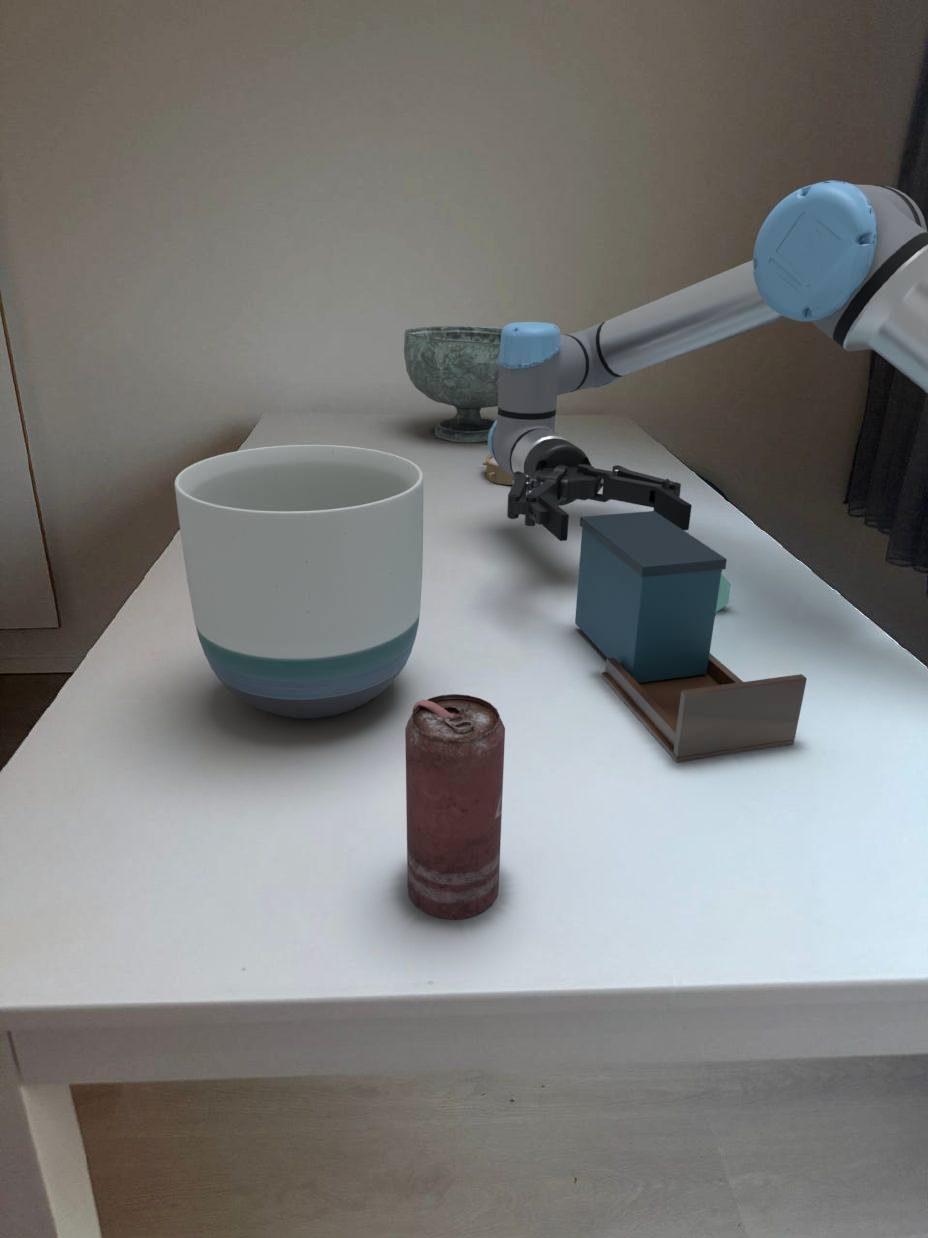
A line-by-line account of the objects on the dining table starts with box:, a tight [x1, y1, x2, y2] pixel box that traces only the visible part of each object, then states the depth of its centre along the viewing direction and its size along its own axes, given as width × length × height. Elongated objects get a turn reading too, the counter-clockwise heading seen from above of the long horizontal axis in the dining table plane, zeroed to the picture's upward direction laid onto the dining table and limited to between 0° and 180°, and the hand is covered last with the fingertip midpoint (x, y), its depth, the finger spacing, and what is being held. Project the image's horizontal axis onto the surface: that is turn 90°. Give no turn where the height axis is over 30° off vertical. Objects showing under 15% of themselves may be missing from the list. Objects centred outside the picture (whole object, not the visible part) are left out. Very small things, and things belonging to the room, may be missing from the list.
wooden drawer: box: [600, 653, 808, 764], centre depth 82 cm, size 15×11×7 cm
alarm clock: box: [482, 453, 513, 486], centre depth 152 cm, size 11×5×15 cm
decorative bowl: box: [403, 325, 503, 443], centre depth 176 cm, size 26×26×20 cm
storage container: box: [574, 510, 727, 683], centre depth 90 cm, size 14×8×12 cm, turn 16°
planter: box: [174, 444, 424, 719], centre depth 80 cm, size 20×20×21 cm
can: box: [404, 693, 506, 921], centre depth 58 cm, size 6×6×14 cm
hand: (627, 522), depth 92 cm, fingers open, 13 cm apart
